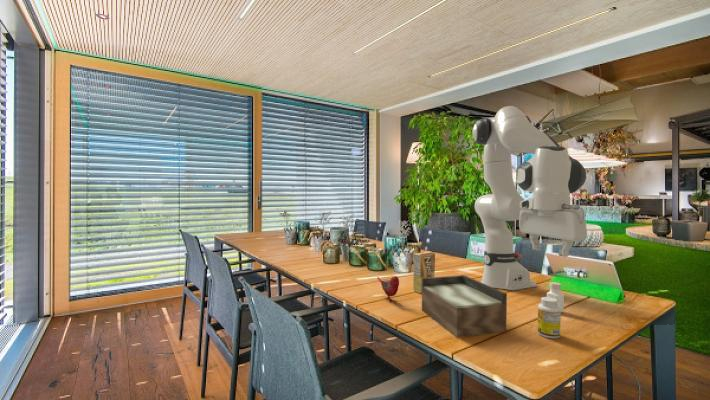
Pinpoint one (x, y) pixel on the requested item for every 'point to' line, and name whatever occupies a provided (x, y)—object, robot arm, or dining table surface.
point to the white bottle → (556, 294)
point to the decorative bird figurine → (390, 286)
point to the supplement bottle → (549, 318)
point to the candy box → (423, 269)
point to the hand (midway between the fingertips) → (549, 253)
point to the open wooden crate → (464, 305)
